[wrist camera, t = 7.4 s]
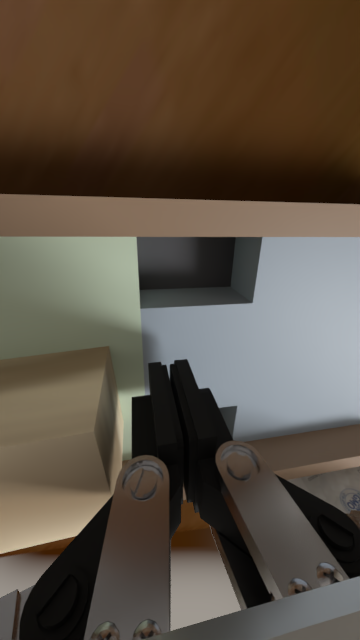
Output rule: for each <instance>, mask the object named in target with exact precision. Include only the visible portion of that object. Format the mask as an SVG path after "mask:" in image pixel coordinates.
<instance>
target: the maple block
mask: <svg viewBox="0 0 360 640" xmlns="http://www.w3.org/2000/svg"><path fill="white" fill-rule="evenodd" d="M123 429H124V421H123V416H122V410H121V405H120V400H119V395H118V390H117V385H116V380H115V375H114V370H113V365H112V359H111V354H110V349H109V346H105V347H97V348H89V349H81V350H73V351H66V352H58V353H50V354H42V355H34V356H26V357H19V358H11V359H3V360H0V554H1V553H5V552H9V551H14V550H18V549H22V548H26V547H31V546H35V545H39V544H43V543H48V542H52V541H56V540H60V539H65V538H69V537H73V536H77V535H78V534H79V533H80V532H81V531H82V529H83V528H84V527H85V526H86V525H87V524H88V523H89V522H90V520H91V519H92V518H93V517H94V516H95V515H96V514H97V512H98V511H99V510H100V509H101V508H102V507H103V506H104V505H105V503H106V502H107V501H108V500H109V499H110V498H111V497H112V495H113V494H114V490H115V485H116V480H117V477H118V475H119V472H120V470H121V469H122V452H123Z"/></svg>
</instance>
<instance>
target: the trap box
mask: <svg viewBox="0 0 360 640" xmlns="http://www.w3.org/2000/svg"><path fill="white" fill-rule="evenodd" d="M105 346H109V349H110V354H111V359H112V365H113V370H114V375H115V380H116V385H117V390H118V395H119V400H120V405H121V410H122V416H123V421H124V429H123V452H122V468H123V466H124V465H125V464H126V463H127V462H129V461H130V460H131V459H132V397H136V396H144V395H150V388H149V371H148V363H152V362H161V364H162V365H166V366H167V370H168V374H169V378H170V364H174V360H182V359H187V360H188V362H189V365H190V367H191V370H192V372H193V375H194V378H195V380H196V383H197V385H198V388H199V389H202V388H210V390H211V392H212V394H213V396H214V398H215V401H216V403H217V405H218V407H219V409H220V412H221V414H222V416H223V418H224V420H225V423H226V425H227V427H228V429H229V431H230V434H231V436H232V438H233V440H235V441H242V442H245V443H247V444H249V445H251V446H252V447H254V448H255V449H256V450H257V451H258V452H259V453H260V454H261V455H262V457H263V458H264V460H265V461H266V462H267V464H268V465H269V467H270V468H271V469H272V471H273V472H274V474H276V475H278V476H280V477H282V478H283V479H285V480H290V479H296V478H301V477H306V476H311V475H317V474H322V473H327V472H332V471H338V470H343V469H348V468H353V467H359V466H360V204H330V203H296V202H261V201H226V200H192V199H157V198H123V197H88V196H53V195H19V194H0V360H3V359H11V358H19V357H26V356H34V355H42V354H50V353H58V352H66V351H73V350H81V349H89V348H97V347H105ZM183 500H186V495H185V489H184V484H183Z"/></svg>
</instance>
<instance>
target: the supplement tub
mask: <svg viewBox="0 0 360 640" xmlns="http://www.w3.org/2000/svg"><path fill="white" fill-rule="evenodd" d="M287 481H289V482H291V483H293V484H294V485H296V486H298V487H300V488H302V489H304V490H305V491H307V492H309V493H311V494H313V495H314V496H316V497H318V498H320V499H322V500H324V501H325V502H327V503H329V504H331V505H333V506H335V507H336V508H338V509H339V510H341V511H342V512H344V513H349V514H350V512H351V510H359V511H360V466H359V467H353V468H348V469H343V470H338V471H332V472H327V473H322V474H317V475H311V476H306V477H301V478H296V479H290V480H287Z"/></svg>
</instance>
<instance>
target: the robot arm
mask: <svg viewBox="0 0 360 640" xmlns="http://www.w3.org/2000/svg"><path fill="white" fill-rule="evenodd" d="M148 371H149V388H150V395H144V396H136V397H132V459H131V460H130V461H129V462H127V463H126V464H125V465H124V466H123V468H122V469H121V470H120V472H119V475H118V477H117V480H116V485H115V490H114V494H113V495H112V497H111V498H110V499H109V500H108V501H107V502H106V503H105V505H104V506H103V507H102V508H101V509H100V510H99V511H98V512H97V514H96V515H95V516H94V517H93V518H92V519H91V520H90V522H89V523H88V524H87V525H86V526H85V527H84V528H83V529H82V531H81V532H80V533H79V534H78V535H77V536H76V537H75V539H74V540H73V541H72V542H71V543H70V544H69V545H68V546H67V548H66V549H65V550H64V551H63V552H62V553H61V554H60V556H59V557H58V558H57V559H56V560H55V561H54V562H53V563H52V565H51V566H50V567H49V568H48V569H47V570H46V571H45V573H44V574H43V575H42V576H41V578H40V579H39V580H38V581H37V583H36V584H35V585H33V586H31V587H30V588H28V589H26V590H24V591H22V592H20V593H19V591H18V590H15V591H13V592H11V593H9V594H7V595H5V596H3V597H1V598H0V640H360V511H359V510H351V512H350V514H349V513H344V512H342V511H341V510H339V509H338V508H336V507H335V506H333V505H331V504H329V503H327V502H325V501H324V500H322V499H320V498H318V497H316V496H314V495H313V494H311V493H309V492H307V491H305V490H304V489H302V488H300V487H298V486H296V485H294V484H293V483H291V482H289V481H287V480H285V479H283V478H282V477H280V476H278V475H276V474H274V472H273V471H272V469H271V468H270V467H269V465H268V464H267V462H266V461H265V460H264V458H263V457H262V455H261V454H260V453H259V452H258V451H257V450H256V449H255V448H254V447H252V446H251V445H249V444H247V443H245V442H242V441H235V440H233V438H232V436H231V434H230V431H229V429H228V427H227V425H226V423H225V420H224V418H223V416H222V414H221V412H220V409H219V407H218V405H217V403H216V401H215V398H214V396H213V394H212V392H211V390H210V388H202V389H199V388H198V385H197V383H196V380H195V378H194V375H193V372H192V370H191V367H190V365H189V362H188V360H187V359H182V360H174V364H170V378H169V374H168V370H167V366H166V365H162V364H161V362H152V363H148ZM183 484H184V489H185V495H186V499H187V503H189V502H193V506H194V510H195V513H196V512H199V513H200V517H201V519H203V520H204V521H205V522H207V523H208V524H209V525H210V528H211V532H212V535H213V537H214V540H215V543H216V545H217V548H218V550H219V553H220V556H221V558H222V561H223V563H224V566H225V569H226V571H227V574H228V576H229V579H230V582H231V584H232V587H233V590H234V592H235V595H236V597H237V600H238V602H239V605H240V608H241V611H238V612H234V613H231V614H228V615H224V616H221V617H217V618H214V619H211V620H207V621H204V622H200V623H197V624H194V625H190V626H187V627H183V628H180V629H176V630H173V631H170V598H171V595H170V594H171V592H170V591H171V590H170V588H171V585H170V581H171V580H170V579H171V578H170V577H171V575H170V571H171V568H170V567H171V557H170V554H171V550H170V549H171V546H170V545H171V544H170V543H171V538H172V536H173V535H174V533H175V531H176V529H177V528H178V526H179V524H180V523H181V504H183Z"/></svg>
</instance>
